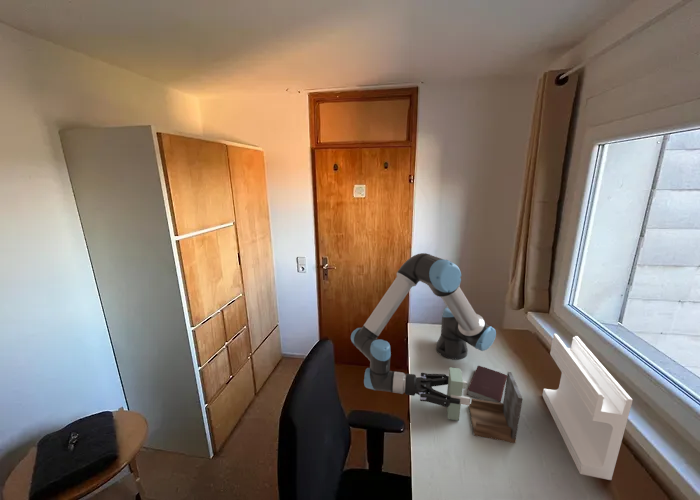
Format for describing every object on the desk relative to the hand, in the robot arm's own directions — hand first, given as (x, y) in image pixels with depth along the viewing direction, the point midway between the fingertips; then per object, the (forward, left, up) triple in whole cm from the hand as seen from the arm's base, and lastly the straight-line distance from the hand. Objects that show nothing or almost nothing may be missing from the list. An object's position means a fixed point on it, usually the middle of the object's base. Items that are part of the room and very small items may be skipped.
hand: (468, 393), depth 115 cm
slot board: (+2, +8, -10) cm, 13 cm away
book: (-19, +11, -11) cm, 24 cm away
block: (-1, +35, -10) cm, 37 cm away
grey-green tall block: (0, -5, -9) cm, 10 cm away
